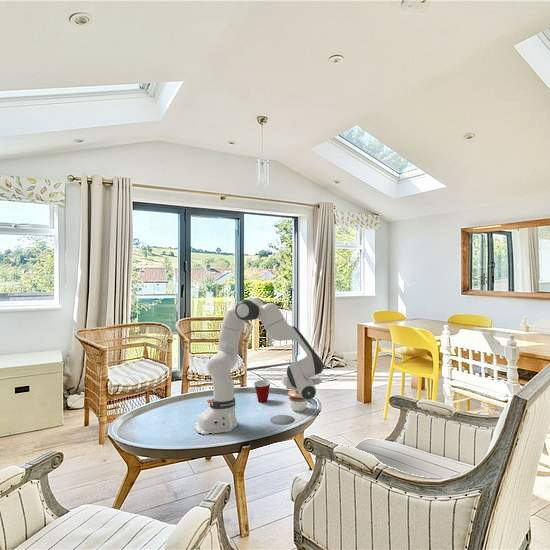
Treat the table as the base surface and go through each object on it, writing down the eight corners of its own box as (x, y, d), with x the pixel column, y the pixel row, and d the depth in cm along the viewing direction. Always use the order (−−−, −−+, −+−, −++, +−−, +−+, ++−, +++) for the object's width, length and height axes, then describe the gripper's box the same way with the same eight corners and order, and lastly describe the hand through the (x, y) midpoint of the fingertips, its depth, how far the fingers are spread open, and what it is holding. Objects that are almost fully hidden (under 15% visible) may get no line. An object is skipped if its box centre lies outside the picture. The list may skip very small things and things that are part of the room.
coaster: (276, 427, 193) (276, 426, 193) (265, 418, 205) (265, 417, 205) (299, 422, 199) (299, 421, 199) (287, 413, 211) (287, 413, 211)
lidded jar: (307, 406, 221) (307, 391, 221) (307, 413, 211) (307, 397, 210) (289, 406, 222) (289, 390, 222) (288, 413, 212) (288, 397, 212)
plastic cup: (250, 401, 233) (250, 381, 232) (264, 397, 239) (264, 378, 239) (260, 405, 224) (260, 386, 224) (274, 401, 231) (274, 382, 230)
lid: (293, 399, 208) (293, 377, 208) (284, 392, 219) (284, 371, 219) (312, 395, 213) (312, 374, 213) (302, 389, 224) (301, 369, 224)
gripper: (323, 376, 191) (317, 369, 205) (283, 376, 189) (280, 369, 203) (322, 388, 191) (317, 380, 205) (283, 388, 189) (280, 380, 203)
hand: (298, 374), depth 204 cm, fingers open, 8 cm apart
